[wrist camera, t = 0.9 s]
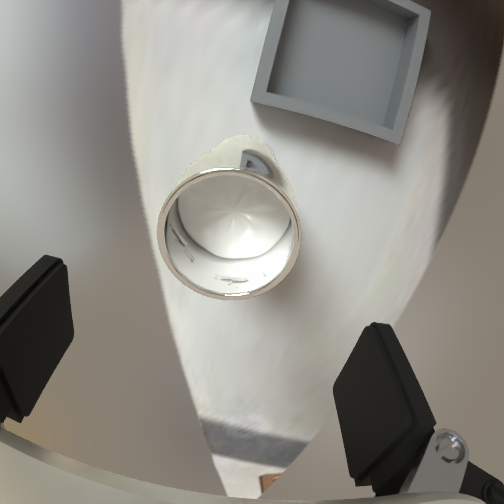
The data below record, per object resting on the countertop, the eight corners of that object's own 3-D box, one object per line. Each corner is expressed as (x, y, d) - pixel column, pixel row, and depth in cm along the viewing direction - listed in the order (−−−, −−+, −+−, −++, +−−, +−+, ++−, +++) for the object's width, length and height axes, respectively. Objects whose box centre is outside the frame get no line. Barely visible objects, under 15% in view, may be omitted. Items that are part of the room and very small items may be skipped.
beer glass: (243, 221, 30) (232, 326, 17) (186, 170, 28) (124, 241, 15) (298, 169, 28) (337, 239, 14) (240, 113, 26) (223, 127, 12)
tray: (284, -30, 20) (287, -42, 17) (416, 17, 21) (431, 11, 18) (250, 101, 25) (249, 101, 23) (386, 140, 26) (399, 145, 24)
